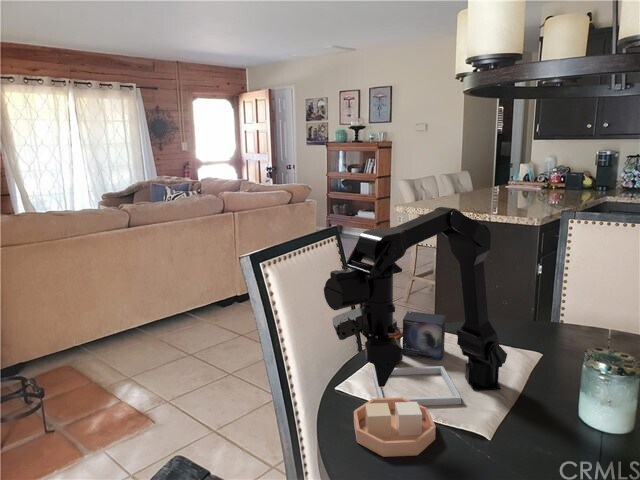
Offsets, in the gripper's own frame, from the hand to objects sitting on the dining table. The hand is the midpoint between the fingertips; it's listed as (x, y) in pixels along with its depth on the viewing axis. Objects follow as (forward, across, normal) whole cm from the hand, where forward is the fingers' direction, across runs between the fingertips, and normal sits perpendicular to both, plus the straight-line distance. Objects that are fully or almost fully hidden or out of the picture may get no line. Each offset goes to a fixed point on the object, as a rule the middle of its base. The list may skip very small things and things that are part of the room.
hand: (377, 374), depth 92 cm
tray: (+12, -16, +10) cm, 23 cm away
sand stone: (+12, 0, 0) cm, 12 cm away
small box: (+13, -34, +17) cm, 40 cm away
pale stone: (+12, 0, +6) cm, 14 cm away
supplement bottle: (+13, -30, +7) cm, 33 cm away
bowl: (+12, 0, +3) cm, 13 cm away
